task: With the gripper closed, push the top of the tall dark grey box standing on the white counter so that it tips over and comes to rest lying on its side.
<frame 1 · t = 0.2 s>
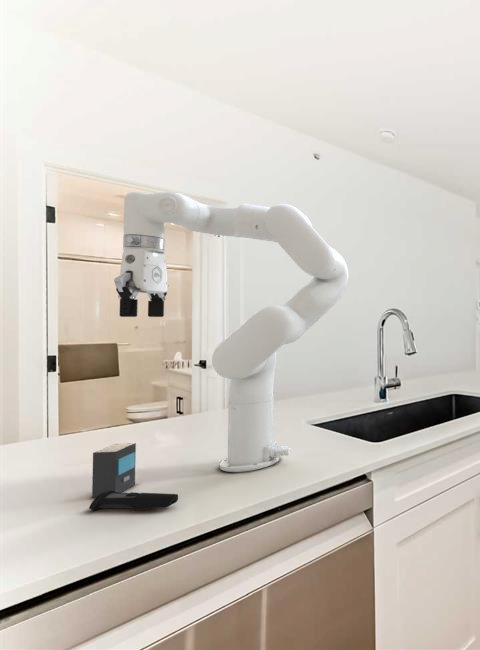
hand: (142, 316, 102), 36 cm above the worktop, tool pointing down, fingers open, 9 cm apart
electric trimmer: (135, 509, 81), on the worktop
dark grey box: (114, 491, 89), on the worktop
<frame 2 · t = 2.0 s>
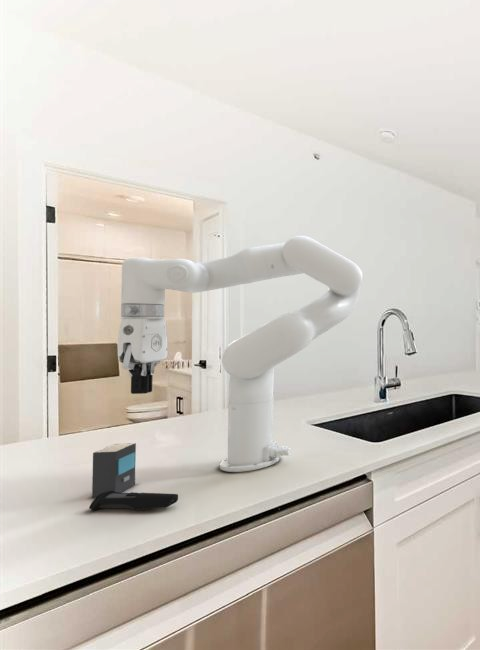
hand: (141, 392, 97), 19 cm above the worktop, tool pointing down, fingers closed
nothing on the worktop moved.
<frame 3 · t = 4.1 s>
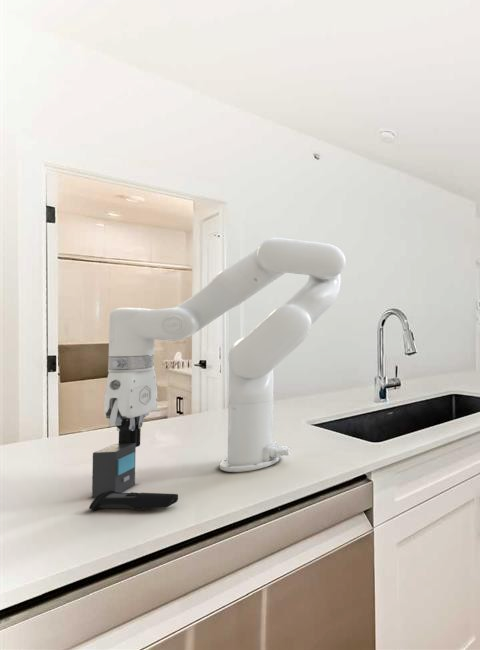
hand: (129, 447, 93), 8 cm above the worktop, tool pointing down, fingers closed
dark grey box: (114, 491, 89), on the worktop, touching gripper
everything else where it was.
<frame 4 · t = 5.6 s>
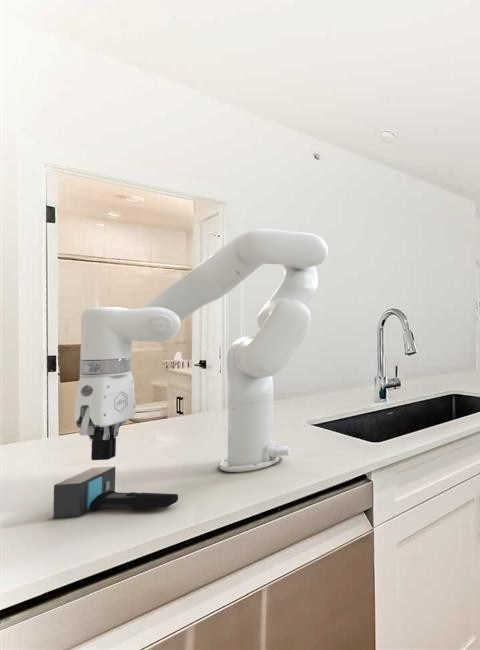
hand: (103, 458, 86), 8 cm above the worktop, tool pointing down, fingers closed
dark grey box: (103, 482, 86), point 3 cm above the worktop, tilted 90°
everything else where it was.
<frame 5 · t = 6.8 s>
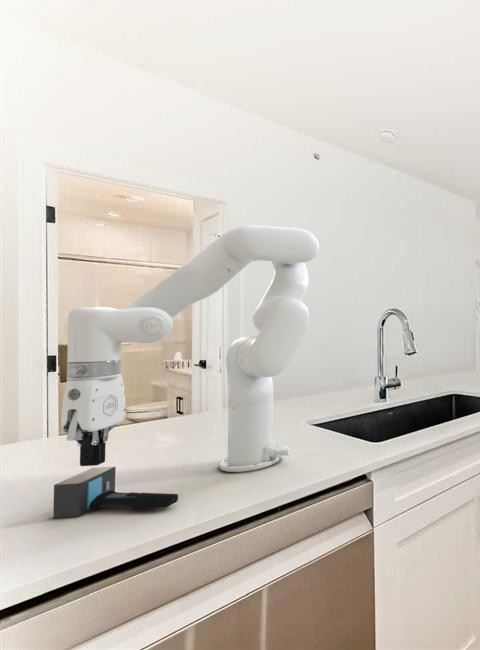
hand: (92, 464, 83), 8 cm above the worktop, tool pointing down, fingers closed
nothing on the worktop moved.
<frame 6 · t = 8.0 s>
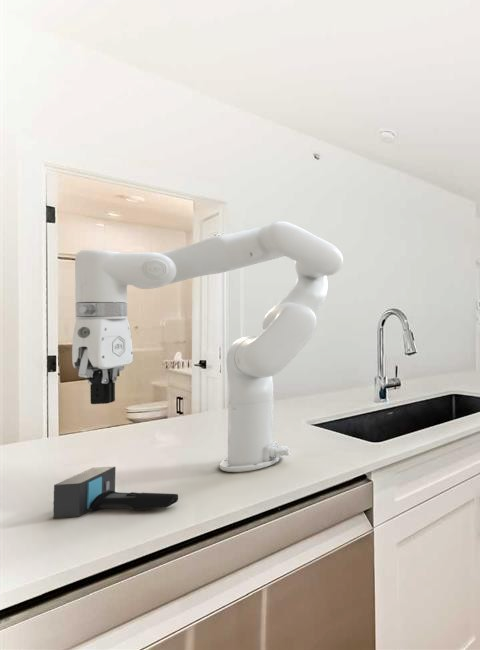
hand: (102, 402, 86), 19 cm above the worktop, tool pointing down, fingers closed
nothing on the worktop moved.
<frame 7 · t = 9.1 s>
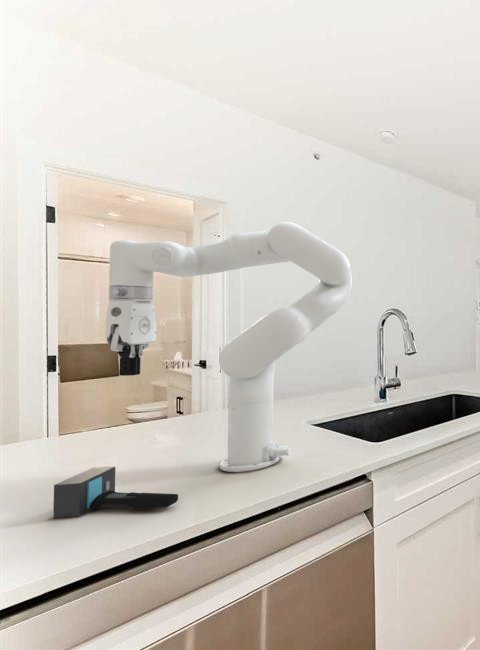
hand: (129, 374, 97), 23 cm above the worktop, tool pointing down, fingers closed
nothing on the worktop moved.
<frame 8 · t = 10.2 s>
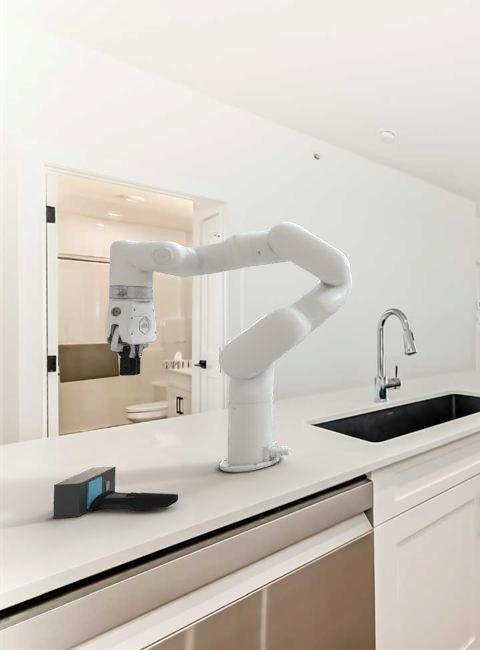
hand: (129, 374, 97), 23 cm above the worktop, tool pointing down, fingers closed
nothing on the worktop moved.
at the end: dark grey box tilted 90°; dark grey box inside the target area (1.5 cm from its centre), point 3.0 cm above the worktop; the gripper is holding nothing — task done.
